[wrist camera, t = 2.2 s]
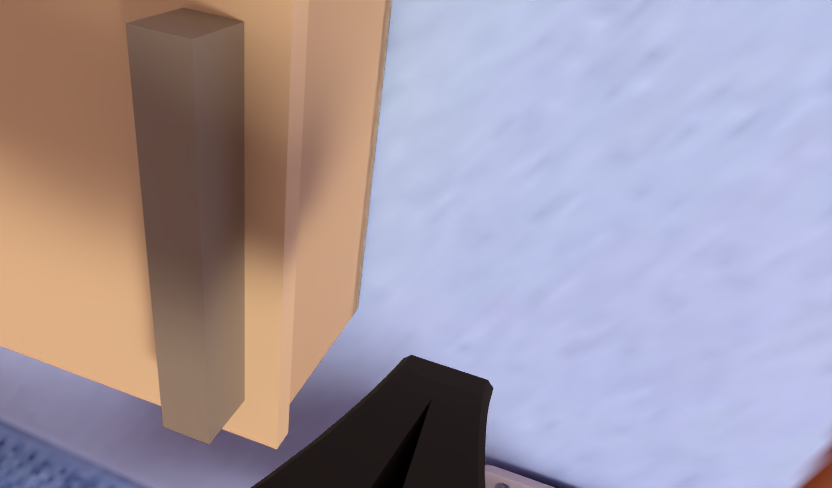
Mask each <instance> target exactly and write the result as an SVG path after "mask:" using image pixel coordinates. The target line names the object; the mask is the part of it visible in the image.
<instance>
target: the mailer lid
mask: <svg viewBox="0 0 832 488" xmlns="http://www.w3.org/2000/svg"><path fill="white" fill-rule="evenodd" d="M308 8H309V0H0V346H2V347H5V348H7V349H10V350H13V351H15V352H18V353H21V354H23V355H26V356H29V357H31V358H34V359H37V360H39V361H42V362H45V363H47V364H50V365H53V366H55V367H58V368H61V369H63V370H66V371H69V372H71V373H74V374H77V375H79V376H82V377H85V378H87V379H90V380H93V381H95V382H98V383H101V384H103V385H106V386H109V387H111V388H114V389H117V390H119V391H122V392H125V393H127V394H130V395H133V396H135V397H138V398H141V399H143V400H146V401H149V402H151V403H154V404H157V405H159V406H161V411H162V422H163V427H165V428H167V429H170V430H173V431H175V432H178V433H180V434H183V435H186V436H188V437H191V438H194V439H196V440H199V441H201V442H204V443H207V444H210V443H211V442H212V440H213V439H214V438H215V437H216V436H217V434H218V433H219V432H220V431H221V429H223V430H226V431H229V432H231V433H234V434H237V435H239V436H242V437H245V438H247V439H250V440H253V441H255V442H258V443H261V444H263V445H266V446H269V447H271V448H274V449H278V447H279V446H280V444H281V443H282V441H283V440H284V438H285V437H286V435H287V434H288V426H289V406H290V385H291V364H292V343H293V322H294V301H295V280H296V259H297V238H298V217H299V196H300V176H301V155H302V134H303V113H304V92H305V71H306V50H307V29H308Z"/></svg>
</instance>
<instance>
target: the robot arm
mask: <svg viewBox="0 0 832 488" xmlns="http://www.w3.org/2000/svg"><path fill="white" fill-rule="evenodd" d="M492 391H493V387H492V386H491V384H490V382H489V381H488V380H486V379H483V378H480V377H477V376H474V375H471V374H468V373H465V372H462V371H459V370H456V369H453V368H450V367H447V366H444V365H440V364H437V363H434V362H431V361H428V360H425V359H422V358H419V357H416V356H413V355H410V356H408V357H406V358H403V360H402V361H401V362H400V363H399V364H398V365H397V366H396V367H395V368H394V369H393V370H392V371H391V372H390V373H389V374H388V375H387V376H386V377H385V378H384V379H383V380H382V381H381V382H380V383H379V384H378V385H377V386H376V387H375V388H374V389H373V390H372V391H371V392H370V393H369V394H368V395H367V396H365V397H364V398H363V399H362V400H361V401H360V402H359V403H358V404H357V405H356V406H355V407H353V408H352V409H351V410H350V411H349V412H348V413H346V414H345V415H344V416H343V417H342V418H341V419H339V420H338V421H337V422H336V423H335V424H333V425H332V426H331V427H330V428H329V429H327V430H326V431H325V432H324V433H323V434H322V435H320V436H319V437H318V438H317V439H315V440H314V441H313V442H312V443H310V444H309V445H308V446H307V447H305V448H304V449H303V450H301V451H300V452H299V453H297V454H296V455H295V456H293V457H292V458H291V459H289V460H288V461H287V462H285V463H284V464H283V465H281V466H280V467H279V468H277V469H276V470H275V471H273V472H272V473H271V474H269V475H268V476H267V477H265V478H264V479H262V480H261V481H259V482H258V483H257V484H255V485H254V486H252V487H251V488H555V487H552V486H549V485H546V484H543V483H541V482H538V481H535V480H532V479H529V478H526V477H524V476H521V475H518V474H515V473H512V472H510V471H507V470H504V469H501V468H498V467H495V466H492V465H485V438H486V423H487V414H488V407H489V402H490V399H491V395H492ZM501 483H505V484H506V485H503V484H501ZM507 485H508V486H507Z"/></svg>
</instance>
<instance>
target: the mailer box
mask: <svg viewBox="0 0 832 488" xmlns="http://www.w3.org/2000/svg"><path fill="white" fill-rule="evenodd" d="M391 7H392V0H309V8H308V29H307V50H306V71H305V92H304V113H303V134H302V155H301V176H300V196H299V217H298V238H297V259H296V280H295V301H294V322H293V343H292V364H291V385H290V403H291V402H292V400H293V399H294V398H295V396H296V395H297V393H298V392H299V391H300V389H301V388H302V386H303V385H304V384H305V382H306V381H307V379H308V378H309V377H310V375H311V374H312V372H313V371H314V370H315V368H316V367H317V365H318V364H319V362H320V361H321V360H322V358H323V357H324V355H325V354H326V353H327V351H328V350H329V348H330V347H331V346H332V344H333V343H334V341H335V340H336V339H337V337H338V336H339V334H340V333H341V332H342V330H343V329H344V327H345V326H346V325H347V323H348V322H349V320H350V319H351V318H352V316H353V315H354V313H355V312H356V311H357V309H358V304H359V295H360V286H361V277H362V268H363V259H364V250H365V241H366V232H367V223H368V214H369V205H370V196H371V187H372V178H373V169H374V160H375V151H376V142H377V133H378V124H379V115H380V106H381V97H382V88H383V79H384V70H385V61H386V52H387V43H388V34H389V25H390V16H391Z"/></svg>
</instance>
